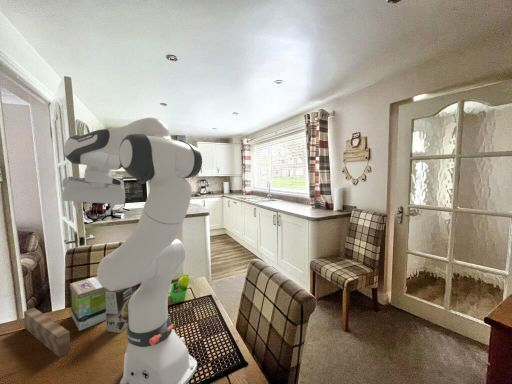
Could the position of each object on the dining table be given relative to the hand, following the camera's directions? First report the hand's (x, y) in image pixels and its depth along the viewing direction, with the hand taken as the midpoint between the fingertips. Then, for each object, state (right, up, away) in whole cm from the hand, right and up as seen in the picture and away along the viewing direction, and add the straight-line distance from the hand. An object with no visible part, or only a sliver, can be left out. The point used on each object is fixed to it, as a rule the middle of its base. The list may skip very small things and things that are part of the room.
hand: (93, 214), depth 85 cm
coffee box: (+10, -45, +3) cm, 46 cm away
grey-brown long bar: (-14, -46, -5) cm, 48 cm away
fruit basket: (+26, -44, +23) cm, 56 cm away
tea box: (-7, -45, +7) cm, 46 cm away
